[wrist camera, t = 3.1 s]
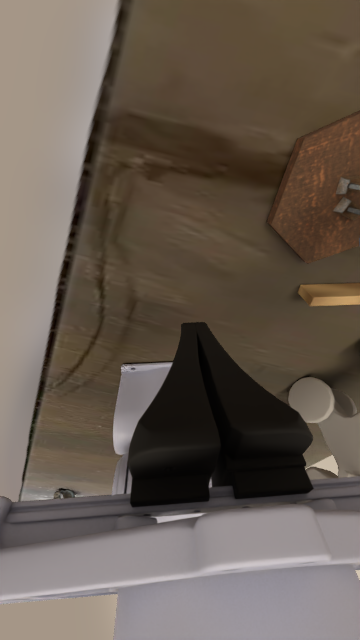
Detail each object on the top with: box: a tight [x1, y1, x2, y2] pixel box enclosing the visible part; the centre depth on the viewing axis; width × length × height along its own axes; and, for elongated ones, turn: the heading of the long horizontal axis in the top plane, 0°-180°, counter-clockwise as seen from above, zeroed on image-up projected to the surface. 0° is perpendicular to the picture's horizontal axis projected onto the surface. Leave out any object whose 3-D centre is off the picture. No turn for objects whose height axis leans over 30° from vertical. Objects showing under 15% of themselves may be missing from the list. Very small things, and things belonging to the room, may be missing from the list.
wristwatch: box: [54, 490, 75, 499], centre depth 53 cm, size 3×5×5 cm
